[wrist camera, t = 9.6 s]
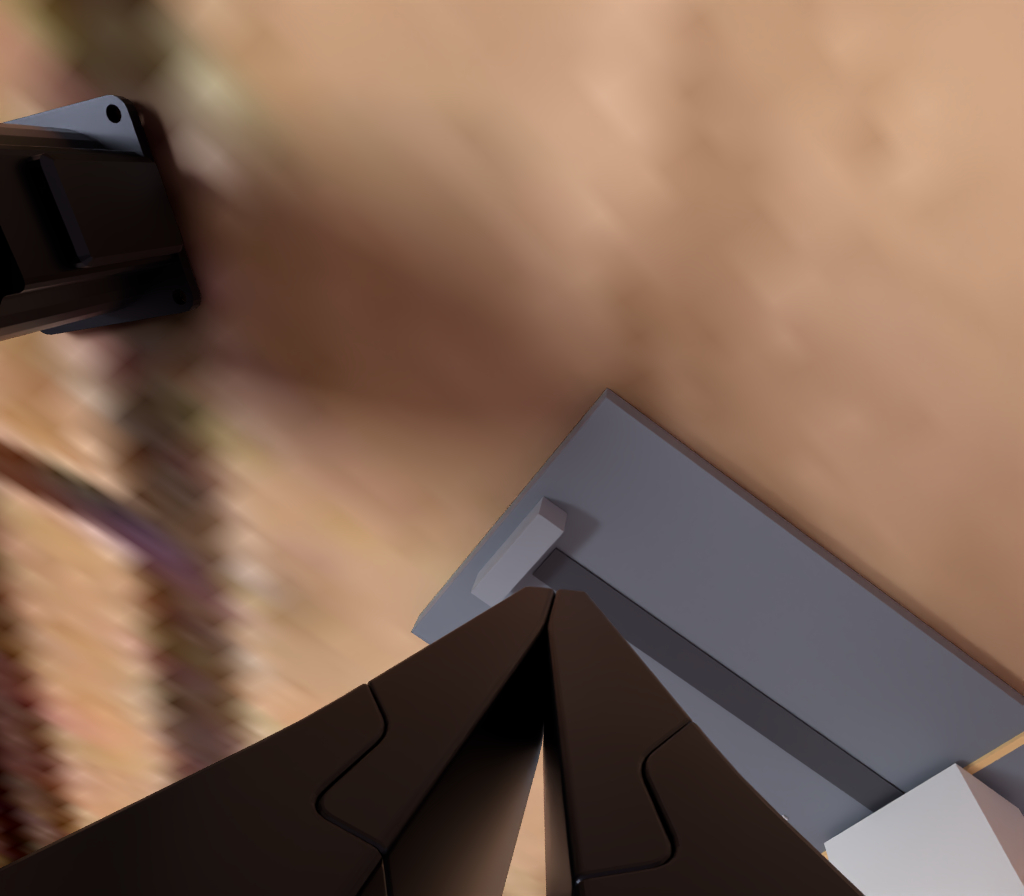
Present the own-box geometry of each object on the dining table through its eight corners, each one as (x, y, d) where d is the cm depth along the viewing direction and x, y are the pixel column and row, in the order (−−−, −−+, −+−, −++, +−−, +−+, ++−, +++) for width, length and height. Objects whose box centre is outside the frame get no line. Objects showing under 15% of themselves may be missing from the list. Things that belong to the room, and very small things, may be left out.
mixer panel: (419, 615, 25) (401, 653, 23) (607, 387, 21) (604, 410, 19) (874, 923, 28) (893, 980, 26) (1141, 783, 23) (1190, 842, 21)
